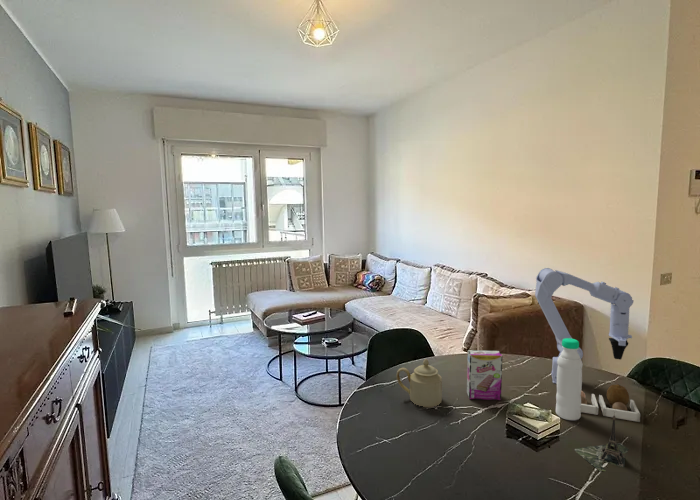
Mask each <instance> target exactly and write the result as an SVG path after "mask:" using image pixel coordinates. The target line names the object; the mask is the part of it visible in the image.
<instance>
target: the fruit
mask: <svg viewBox="0 0 700 500" xmlns="http://www.w3.org/2000/svg"><path fill="white" fill-rule="evenodd" d="M606 398H607V401H608V403H609V404H610V405H611V406H613V404H614V403H616V402H621V403H623V404H625V405H626V406H627V405H628V403H630V394H629V392H628V390H627V389H626V387H625V386H623V385H620V384H618V383H617V384H611V385H610V386H609V387H608V388H607V390H606Z"/></svg>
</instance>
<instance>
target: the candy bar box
mask: <svg viewBox="0 0 700 500" xmlns="http://www.w3.org/2000/svg"><path fill="white" fill-rule="evenodd" d="M466 361H467V365H466V366H467V371H466V394H467V398H468V399H469V400H484V401H485V400H486V401H487V400H488V401H489V400H490V401H501V400H502V384H503V381H502V380H503V354H501V352H500V351H499V350H481V349H480V350H478V349H477V350H475V349H474V350H473V349H471V350H470V349H468V350H467V360H466Z"/></svg>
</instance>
